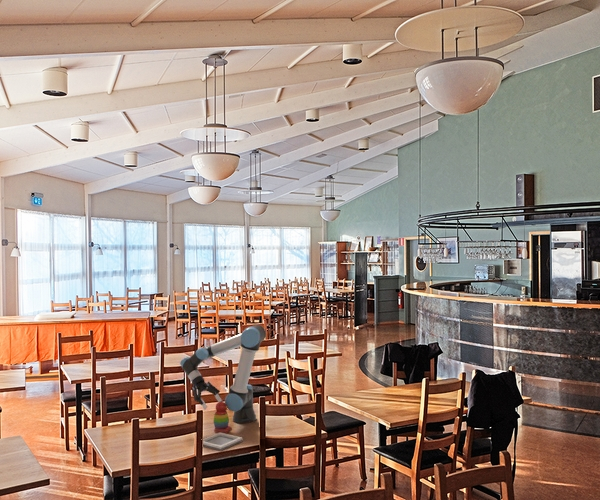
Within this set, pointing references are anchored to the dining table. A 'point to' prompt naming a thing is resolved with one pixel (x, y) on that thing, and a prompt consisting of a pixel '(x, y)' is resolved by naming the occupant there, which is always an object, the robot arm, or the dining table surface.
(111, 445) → the dining table surface
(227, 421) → the stacking bear
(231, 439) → the white square tray
